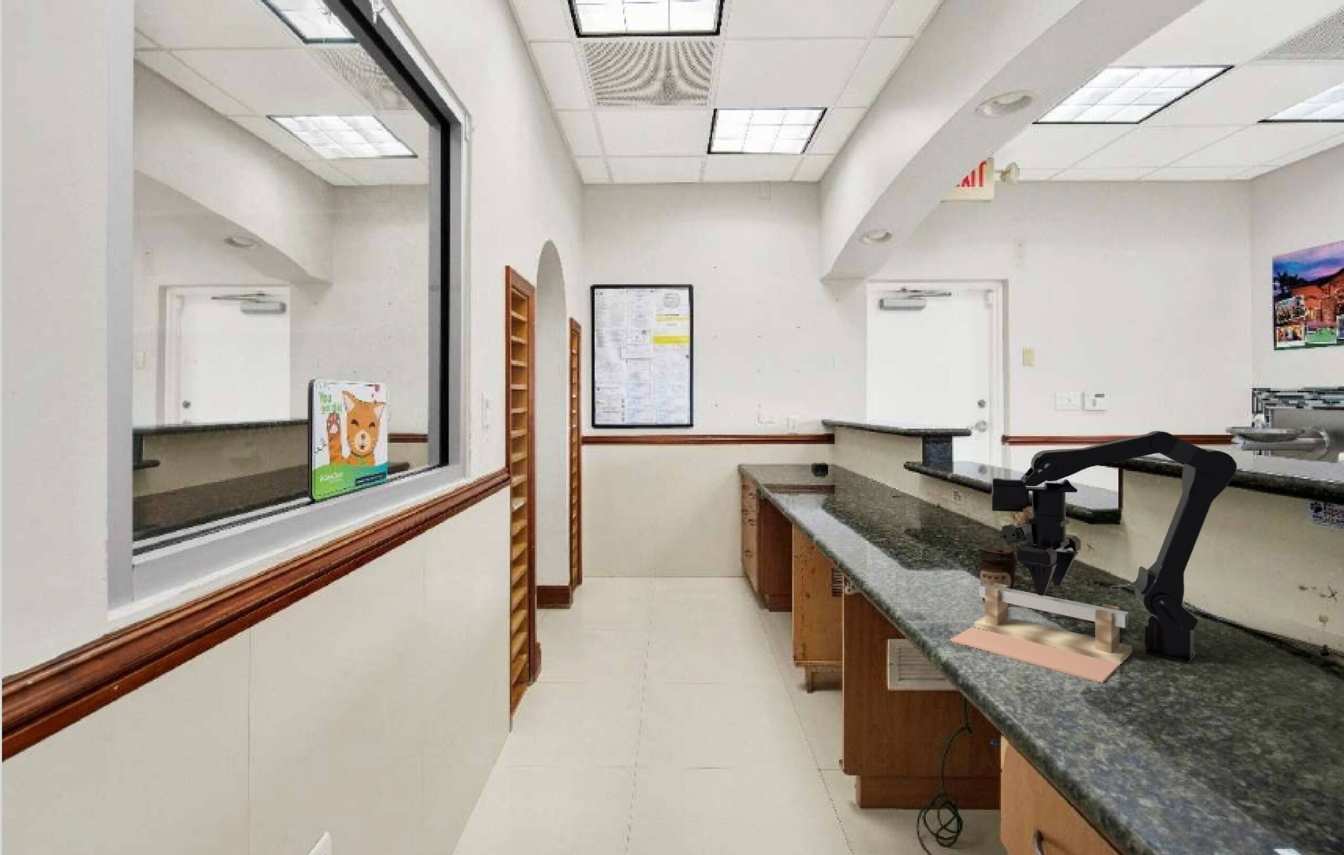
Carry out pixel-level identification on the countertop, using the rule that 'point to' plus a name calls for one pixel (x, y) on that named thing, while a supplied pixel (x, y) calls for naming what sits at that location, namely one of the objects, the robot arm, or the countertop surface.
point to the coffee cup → (997, 567)
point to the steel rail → (1056, 605)
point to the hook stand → (1056, 631)
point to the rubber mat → (1037, 654)
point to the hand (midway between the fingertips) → (1049, 590)
